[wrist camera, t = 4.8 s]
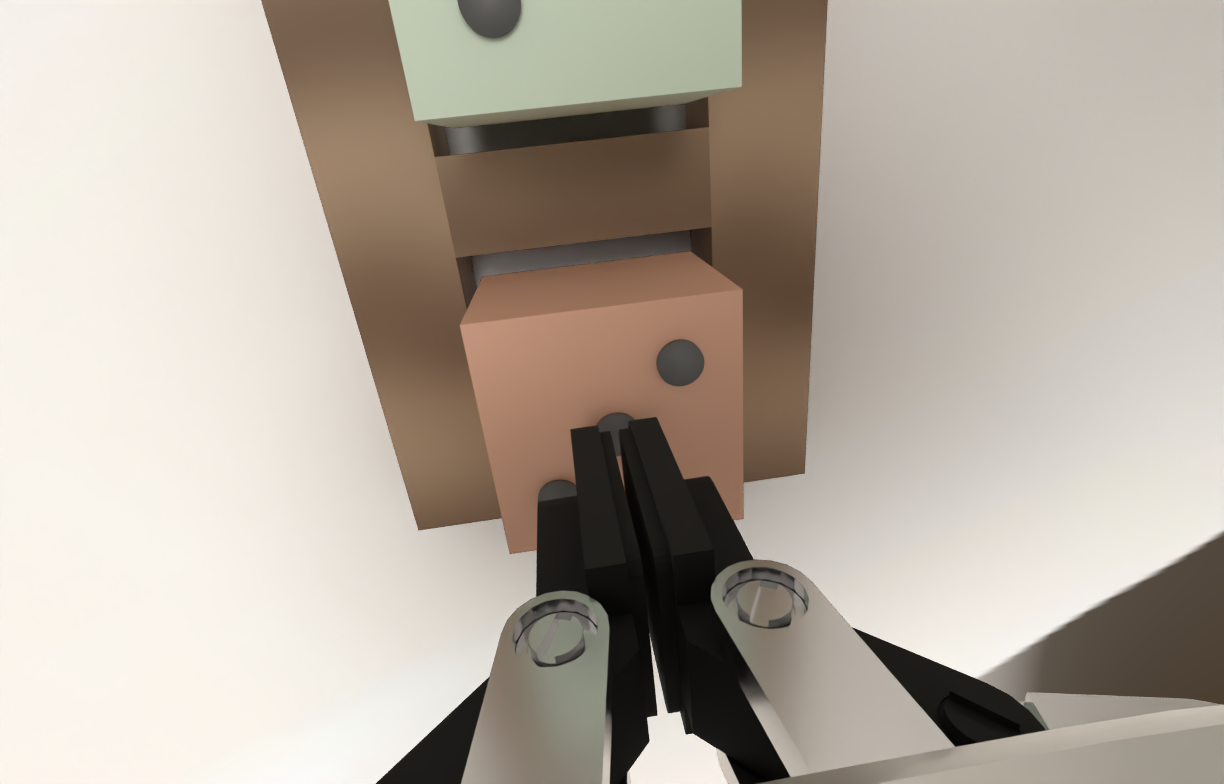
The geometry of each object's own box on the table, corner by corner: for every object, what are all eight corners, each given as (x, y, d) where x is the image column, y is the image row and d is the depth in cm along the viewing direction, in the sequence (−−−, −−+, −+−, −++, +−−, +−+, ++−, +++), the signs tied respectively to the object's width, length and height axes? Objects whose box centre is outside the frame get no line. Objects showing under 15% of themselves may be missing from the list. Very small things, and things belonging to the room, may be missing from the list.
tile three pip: (482, 276, 15) (458, 328, 11) (690, 251, 16) (745, 291, 11) (518, 457, 18) (509, 559, 13) (697, 432, 18) (746, 523, 14)
